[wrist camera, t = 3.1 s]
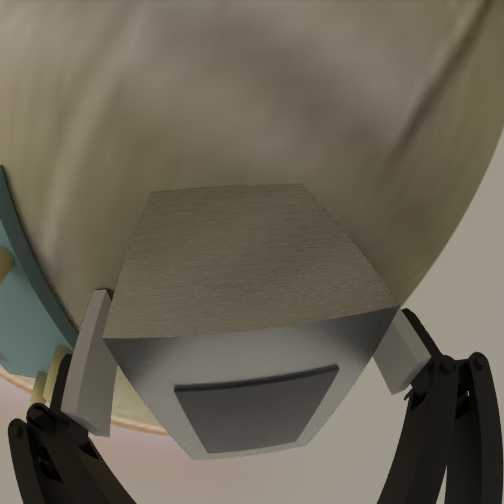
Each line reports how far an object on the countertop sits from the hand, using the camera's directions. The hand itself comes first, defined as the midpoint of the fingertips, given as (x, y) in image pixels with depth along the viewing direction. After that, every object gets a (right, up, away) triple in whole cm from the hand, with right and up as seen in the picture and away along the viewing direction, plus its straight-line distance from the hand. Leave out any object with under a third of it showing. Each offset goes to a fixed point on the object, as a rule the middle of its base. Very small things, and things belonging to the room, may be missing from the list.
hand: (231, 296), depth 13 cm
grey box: (0, 0, 0) cm, 0 cm away
